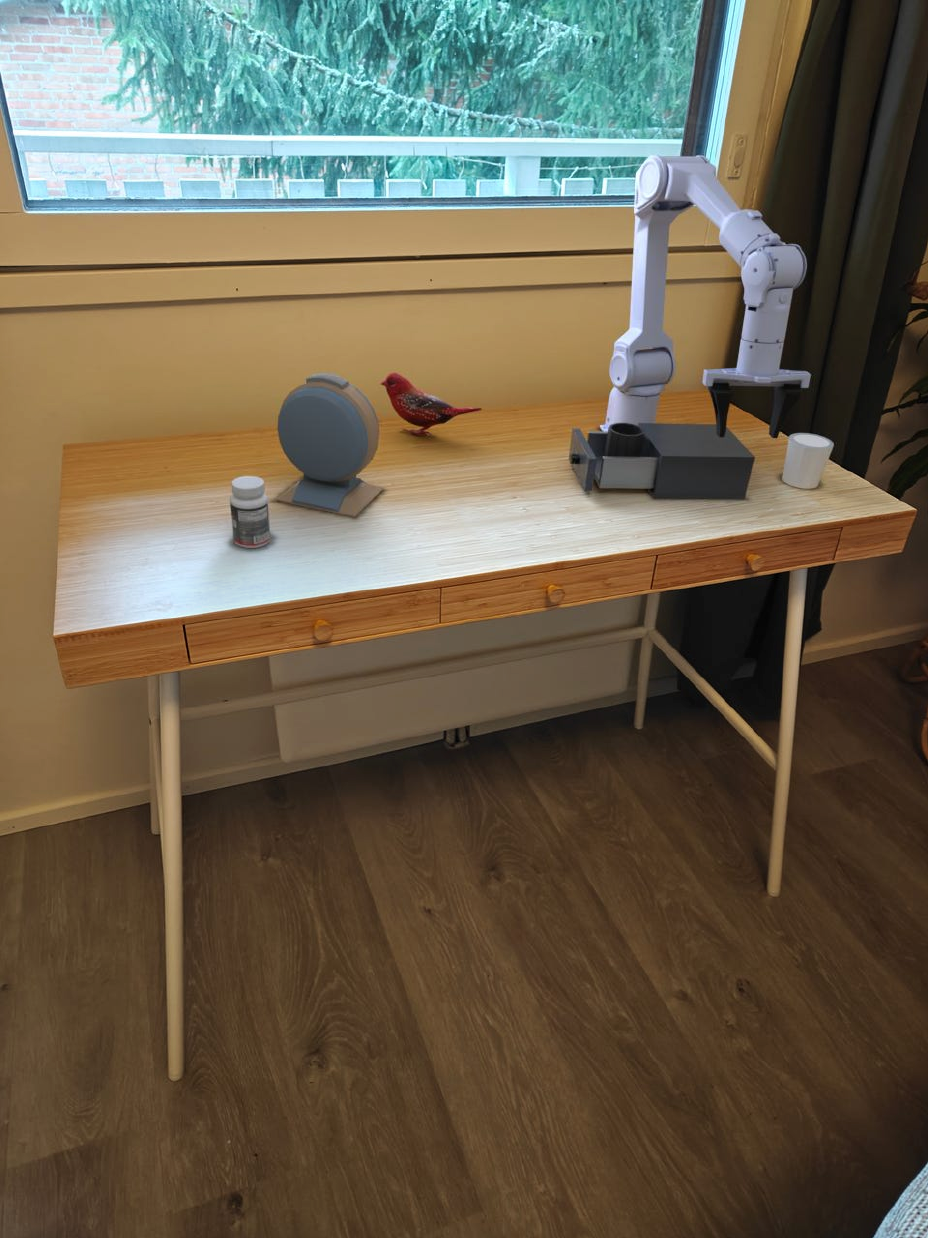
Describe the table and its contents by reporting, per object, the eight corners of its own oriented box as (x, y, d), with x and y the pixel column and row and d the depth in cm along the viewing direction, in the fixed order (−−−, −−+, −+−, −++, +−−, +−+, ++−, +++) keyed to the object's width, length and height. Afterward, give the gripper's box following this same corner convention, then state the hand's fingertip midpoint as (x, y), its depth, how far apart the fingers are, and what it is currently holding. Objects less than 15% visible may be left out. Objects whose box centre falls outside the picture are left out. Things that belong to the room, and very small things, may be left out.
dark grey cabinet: (653, 498, 135) (661, 455, 131) (631, 463, 146) (637, 422, 142) (744, 499, 137) (755, 457, 133) (715, 464, 148) (724, 424, 144)
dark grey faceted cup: (598, 462, 141) (604, 422, 137) (630, 461, 142) (637, 422, 138) (609, 476, 136) (615, 435, 133) (642, 475, 137) (649, 435, 134)
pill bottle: (236, 531, 119) (230, 473, 114) (272, 532, 119) (268, 474, 115) (231, 549, 115) (225, 489, 110) (268, 549, 115) (264, 490, 111)
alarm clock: (388, 491, 132) (390, 373, 122) (361, 518, 124) (360, 394, 114) (302, 473, 135) (296, 357, 126) (269, 499, 128) (261, 377, 118)
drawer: (576, 491, 134) (581, 458, 131) (561, 458, 144) (564, 428, 141) (670, 491, 135) (677, 459, 133) (648, 459, 146) (654, 429, 143)
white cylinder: (824, 492, 140) (837, 450, 137) (780, 486, 141) (791, 445, 138) (819, 475, 146) (831, 435, 142) (776, 470, 147) (786, 429, 143)
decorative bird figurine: (382, 425, 154) (383, 368, 149) (481, 441, 151) (485, 383, 145) (377, 431, 152) (377, 373, 146) (477, 447, 148) (481, 388, 143)
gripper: (716, 344, 120) (702, 442, 126) (824, 346, 120) (805, 444, 126) (705, 334, 126) (692, 429, 133) (807, 336, 126) (790, 430, 132)
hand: (746, 435), depth 130 cm, fingers open, 7 cm apart
